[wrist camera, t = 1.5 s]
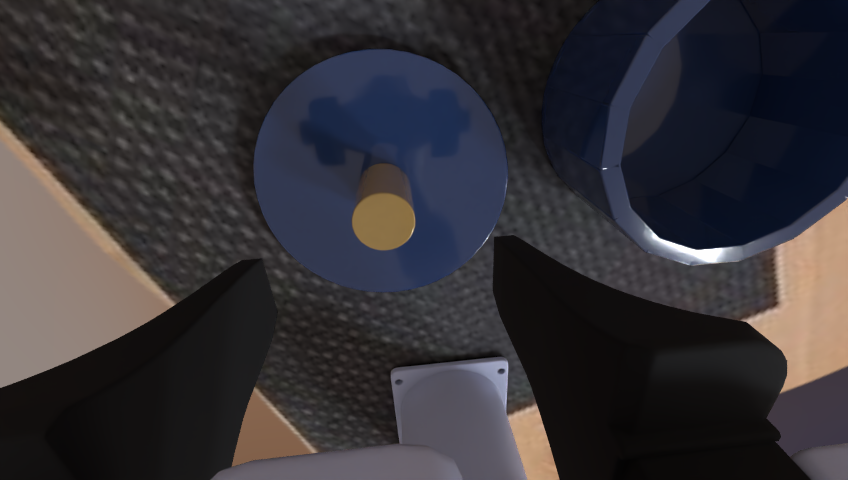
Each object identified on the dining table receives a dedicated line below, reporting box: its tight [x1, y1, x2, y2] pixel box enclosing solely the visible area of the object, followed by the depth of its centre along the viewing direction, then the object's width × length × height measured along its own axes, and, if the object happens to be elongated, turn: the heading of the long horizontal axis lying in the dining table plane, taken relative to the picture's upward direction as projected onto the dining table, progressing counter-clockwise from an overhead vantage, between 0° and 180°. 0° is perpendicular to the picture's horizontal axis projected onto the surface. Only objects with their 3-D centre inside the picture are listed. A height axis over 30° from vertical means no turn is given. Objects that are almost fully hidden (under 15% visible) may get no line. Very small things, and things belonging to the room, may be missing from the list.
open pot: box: [542, 0, 848, 266], centre depth 17 cm, size 12×12×6 cm
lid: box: [253, 48, 508, 292], centre depth 18 cm, size 13×13×5 cm
